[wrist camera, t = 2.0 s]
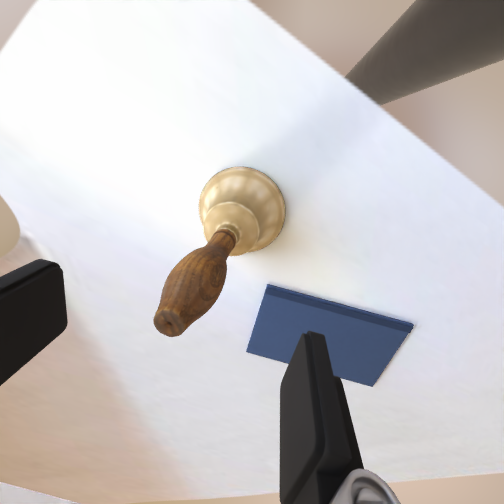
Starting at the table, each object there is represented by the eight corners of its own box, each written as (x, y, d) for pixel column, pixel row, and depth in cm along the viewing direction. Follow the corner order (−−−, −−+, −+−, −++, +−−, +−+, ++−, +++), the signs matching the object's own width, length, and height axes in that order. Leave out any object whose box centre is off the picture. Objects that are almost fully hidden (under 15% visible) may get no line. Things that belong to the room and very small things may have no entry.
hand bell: (254, 266, 26) (215, 423, 12) (185, 222, 25) (47, 334, 11) (303, 200, 23) (335, 306, 8) (226, 147, 22) (106, 160, 7)
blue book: (267, 283, 27) (267, 286, 26) (412, 323, 27) (414, 326, 26) (246, 350, 31) (246, 352, 31) (371, 384, 31) (372, 387, 30)
